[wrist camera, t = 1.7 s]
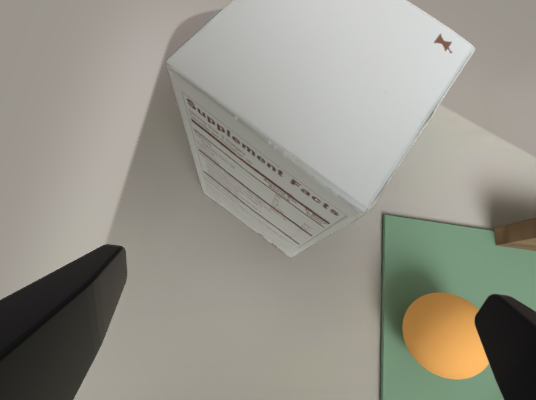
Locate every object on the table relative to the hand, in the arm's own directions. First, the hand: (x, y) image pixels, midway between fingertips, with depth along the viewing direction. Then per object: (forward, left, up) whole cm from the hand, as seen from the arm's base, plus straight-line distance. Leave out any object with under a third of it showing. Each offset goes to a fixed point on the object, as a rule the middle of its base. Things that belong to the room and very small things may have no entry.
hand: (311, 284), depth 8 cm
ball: (-1, -10, -12) cm, 16 cm away
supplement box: (+7, 0, -13) cm, 14 cm away
